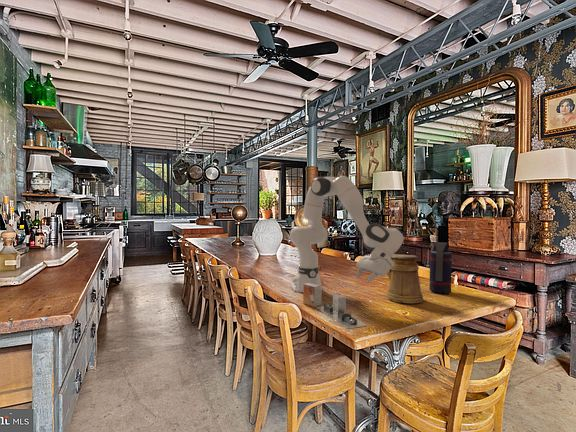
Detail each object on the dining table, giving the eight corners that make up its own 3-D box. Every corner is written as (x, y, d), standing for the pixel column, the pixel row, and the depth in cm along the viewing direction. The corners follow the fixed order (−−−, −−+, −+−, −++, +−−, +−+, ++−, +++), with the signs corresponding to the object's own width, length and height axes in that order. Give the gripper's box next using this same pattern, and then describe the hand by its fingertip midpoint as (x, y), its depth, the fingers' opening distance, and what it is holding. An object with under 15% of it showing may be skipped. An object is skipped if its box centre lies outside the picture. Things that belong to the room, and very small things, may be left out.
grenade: (430, 288, 206) (431, 240, 205) (452, 291, 200) (453, 241, 199) (427, 293, 194) (428, 242, 193) (449, 296, 188) (451, 244, 187)
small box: (303, 303, 173) (303, 283, 173) (310, 301, 177) (310, 282, 176) (314, 307, 167) (314, 286, 167) (321, 305, 171) (321, 284, 171)
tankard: (410, 306, 169) (411, 258, 168) (373, 296, 188) (374, 252, 187) (429, 301, 179) (430, 255, 179) (393, 291, 198) (393, 250, 198)
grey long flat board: (315, 307, 166) (315, 301, 166) (333, 305, 170) (333, 299, 169) (346, 328, 138) (346, 320, 138) (367, 325, 142) (367, 317, 141)
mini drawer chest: (332, 314, 155) (332, 295, 155) (340, 313, 157) (340, 294, 157) (337, 317, 151) (337, 298, 150) (346, 316, 152) (346, 297, 152)
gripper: (363, 249, 170) (346, 270, 166) (389, 255, 150) (370, 278, 147) (371, 258, 171) (354, 278, 168) (397, 264, 152) (379, 287, 149)
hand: (362, 278), depth 158 cm, fingers open, 8 cm apart
